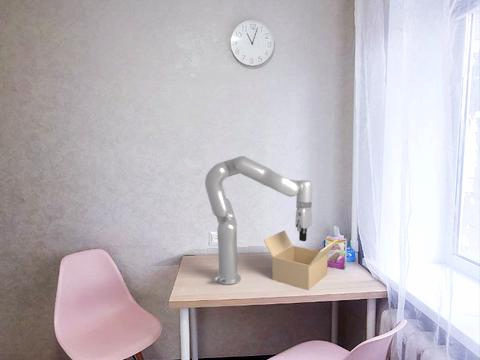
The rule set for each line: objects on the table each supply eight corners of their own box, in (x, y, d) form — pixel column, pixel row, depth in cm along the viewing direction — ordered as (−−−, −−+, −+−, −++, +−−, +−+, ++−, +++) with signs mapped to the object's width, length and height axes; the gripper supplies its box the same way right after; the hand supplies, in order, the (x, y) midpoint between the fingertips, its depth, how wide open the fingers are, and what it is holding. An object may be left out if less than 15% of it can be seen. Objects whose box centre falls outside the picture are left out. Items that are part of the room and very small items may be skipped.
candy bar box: (324, 266, 175) (324, 238, 173) (326, 263, 179) (326, 235, 177) (344, 270, 169) (345, 240, 167) (346, 266, 173) (347, 238, 172)
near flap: (309, 265, 145) (310, 265, 145) (320, 250, 141) (320, 251, 141) (326, 252, 162) (327, 253, 162) (337, 239, 158) (337, 240, 158)
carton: (308, 290, 146) (308, 265, 145) (272, 279, 159) (272, 257, 157) (327, 274, 164) (327, 252, 162) (293, 266, 176) (293, 245, 175)
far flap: (264, 239, 160) (263, 239, 160) (272, 256, 158) (272, 256, 158) (284, 230, 176) (283, 230, 177) (292, 245, 174) (292, 246, 174)
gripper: (303, 208, 147) (302, 245, 149) (317, 203, 159) (315, 238, 161) (290, 206, 152) (288, 242, 154) (303, 202, 164) (302, 235, 166)
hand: (302, 240), depth 158 cm, fingers closed
